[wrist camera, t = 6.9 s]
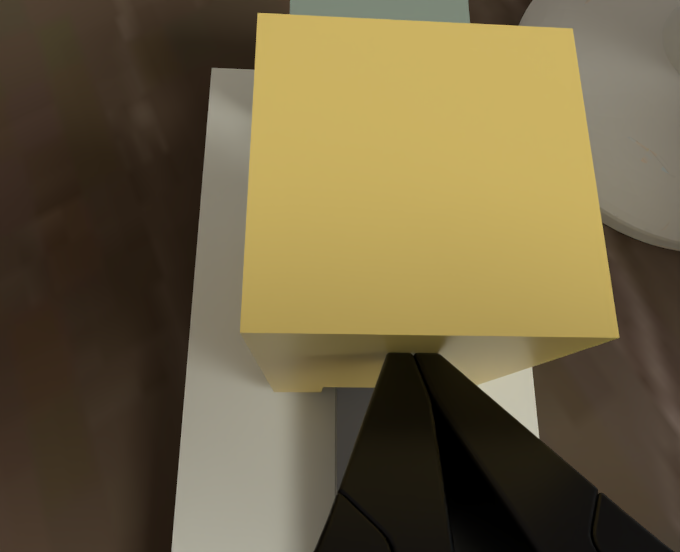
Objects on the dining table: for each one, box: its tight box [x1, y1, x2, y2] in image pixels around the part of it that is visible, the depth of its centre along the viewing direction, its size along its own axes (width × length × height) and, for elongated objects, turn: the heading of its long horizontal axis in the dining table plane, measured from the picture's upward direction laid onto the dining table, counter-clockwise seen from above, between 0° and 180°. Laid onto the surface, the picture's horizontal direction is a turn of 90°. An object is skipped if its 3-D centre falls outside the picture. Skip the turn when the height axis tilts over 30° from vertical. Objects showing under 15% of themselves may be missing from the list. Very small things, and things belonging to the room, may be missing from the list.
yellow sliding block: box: [240, 13, 619, 392], centre depth 12 cm, size 5×5×8 cm
